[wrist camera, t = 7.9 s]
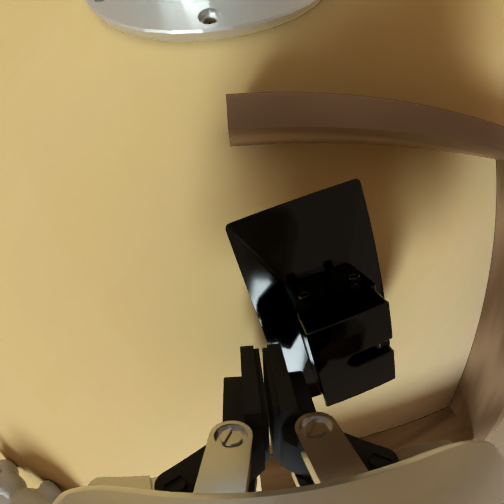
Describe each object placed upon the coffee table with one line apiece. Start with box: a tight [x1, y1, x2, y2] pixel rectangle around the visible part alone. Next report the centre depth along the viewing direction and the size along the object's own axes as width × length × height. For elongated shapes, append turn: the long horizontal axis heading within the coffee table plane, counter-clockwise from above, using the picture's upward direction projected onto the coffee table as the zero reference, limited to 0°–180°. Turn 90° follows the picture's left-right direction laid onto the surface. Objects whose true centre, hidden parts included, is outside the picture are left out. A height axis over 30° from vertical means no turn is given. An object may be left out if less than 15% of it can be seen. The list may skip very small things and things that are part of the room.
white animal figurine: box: [0, 459, 62, 504], centre depth 14 cm, size 7×12×8 cm, turn 65°
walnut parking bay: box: [226, 92, 504, 491], centre depth 11 cm, size 20×16×5 cm
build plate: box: [226, 179, 395, 406], centre depth 11 cm, size 12×7×5 cm, turn 19°
